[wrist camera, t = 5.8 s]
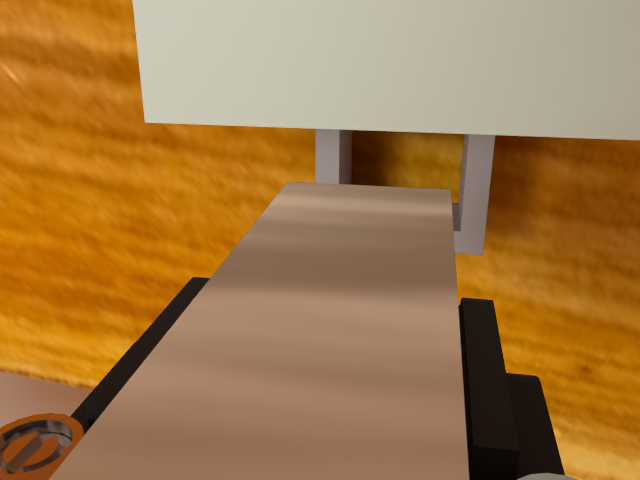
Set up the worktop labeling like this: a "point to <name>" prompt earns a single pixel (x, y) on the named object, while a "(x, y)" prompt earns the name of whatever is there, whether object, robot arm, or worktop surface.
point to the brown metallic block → (305, 354)
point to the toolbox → (466, 213)
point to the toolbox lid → (395, 65)
